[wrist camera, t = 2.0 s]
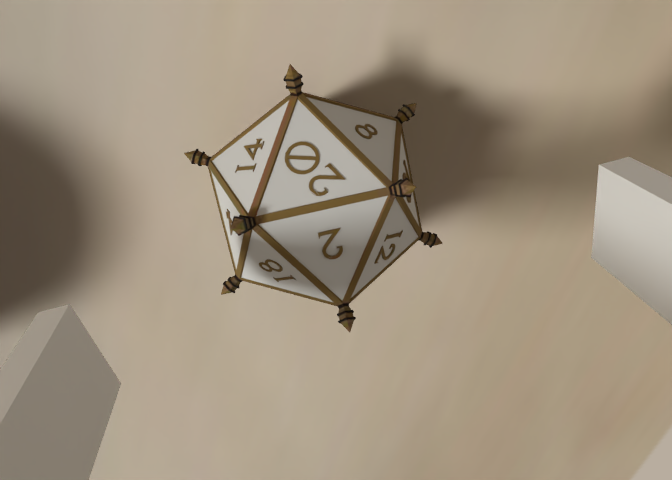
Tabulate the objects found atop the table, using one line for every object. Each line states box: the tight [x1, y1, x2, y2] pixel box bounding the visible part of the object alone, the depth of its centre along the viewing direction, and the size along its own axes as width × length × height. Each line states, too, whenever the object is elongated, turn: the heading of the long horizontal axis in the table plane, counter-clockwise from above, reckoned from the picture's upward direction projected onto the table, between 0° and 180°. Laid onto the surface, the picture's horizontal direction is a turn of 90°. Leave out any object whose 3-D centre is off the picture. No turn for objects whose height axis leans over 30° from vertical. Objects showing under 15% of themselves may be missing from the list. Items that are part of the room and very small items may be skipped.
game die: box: [184, 64, 442, 332], centre depth 17 cm, size 9×8×10 cm
